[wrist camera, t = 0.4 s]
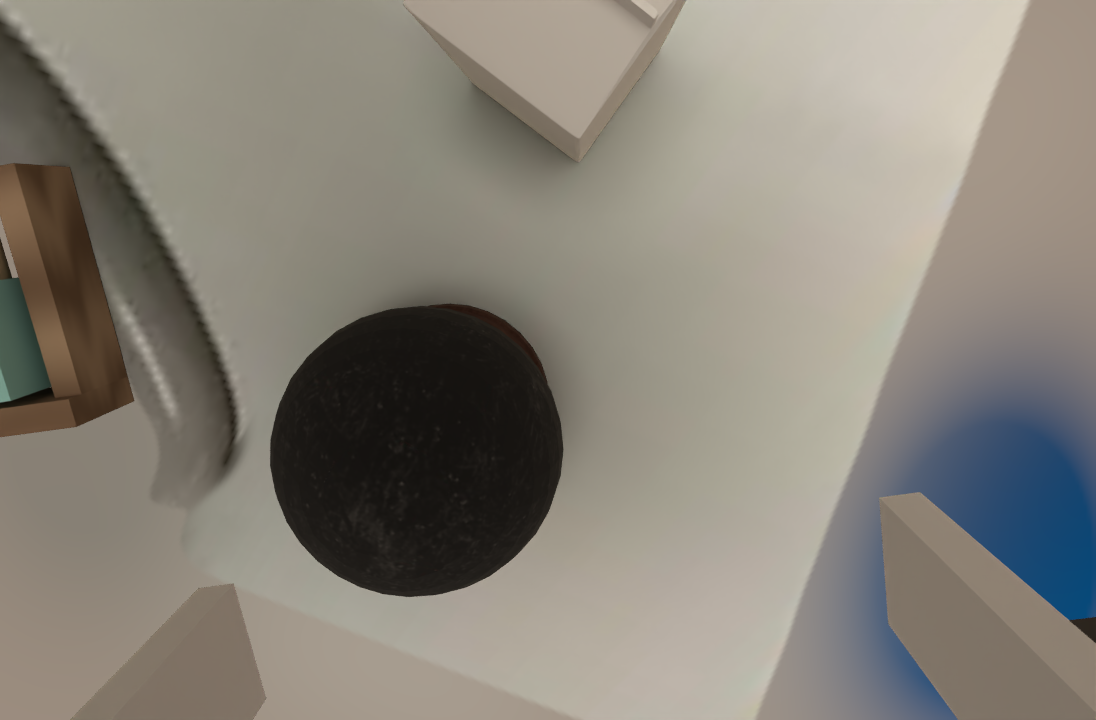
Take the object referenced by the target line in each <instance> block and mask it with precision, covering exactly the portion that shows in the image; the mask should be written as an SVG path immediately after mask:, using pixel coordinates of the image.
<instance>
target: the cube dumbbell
mask: <svg viewBox="0 0 1096 720" xmlns="http://www.w3.org/2000/svg"><path fill="white" fill-rule="evenodd" d="M49 387H52V386H51V383H50V380H49V376H48V373H47V370H46V366H45V363H44V360H43V356H42V353H41V350H40V346H39V343H38V340H37V336H36V333H35V330H34V326H33V323H32V320H31V316H30V313H29V310H28V306H27V303H26V300H25V296H24V293H23V290H22V286H21V283H20V280H19V278H12V276H11V272H10V269H9V266H8V262H7V259H6V256H5V253H4V250H3V246H2V243H1V239H0V402H6V401H12V400H15V399H17V398H20V397H23V396H26V395H29V394H32V393H35V392H37V391H40V390H43V389H46V388H49Z"/></svg>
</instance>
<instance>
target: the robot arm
mask: <svg viewBox="0 0 1096 720" xmlns="http://www.w3.org/2000/svg"><path fill="white" fill-rule="evenodd" d="M879 500H880V514H881V528H882V542H883V554H884V568H885V583H886V596H887V611H888V623H889V625H890V627H891V628H892V630H893V631H894V632H895V634H896V635H897V636H898V638H899V639H900V640H901V642H902V643H903V645H904V646H905V647H906V649H907V650H908V652H909V653H910V654H911V656H912V657H913V658H914V659H915V661H916V663H917V664H918V665H919V666H920V668H921V669H922V670H923V672H924V673H925V675H926V676H927V677H928V679H929V680H930V682H931V683H932V684H933V686H934V687H935V689H936V690H937V691H938V693H939V694H940V695H941V697H942V698H943V699H944V701H945V702H946V704H947V705H948V706H949V708H950V709H951V710H952V712H953V713H954V715H955V716H956V717H957V719H958V720H1096V617H1093V618H1085V619H1076V620H1068V619H1067V618H1065V617H1064V616H1063V615H1062V614H1061V613H1060V612H1059V611H1057V610H1056V609H1055V608H1054V607H1053V606H1051V605H1050V604H1049V603H1048V602H1047V601H1046V600H1044V599H1043V598H1042V597H1041V596H1040V595H1039V594H1038V593H1036V592H1035V591H1034V590H1033V589H1032V588H1031V587H1029V586H1028V585H1027V584H1026V583H1025V582H1023V581H1022V580H1021V579H1020V578H1019V577H1018V576H1017V575H1015V574H1014V573H1013V572H1012V571H1011V570H1010V569H1008V568H1007V567H1006V566H1005V565H1004V564H1003V563H1002V562H1000V561H999V560H998V559H997V558H996V557H995V556H993V555H992V554H991V553H990V552H989V551H988V550H986V549H985V548H984V547H983V546H982V545H981V544H979V543H978V542H977V541H976V540H975V539H974V538H972V537H971V536H970V535H969V534H968V533H967V532H965V531H964V530H963V529H962V528H961V527H960V526H958V525H957V524H956V523H955V522H954V521H953V520H951V519H950V518H949V517H948V516H947V515H946V514H944V513H943V512H942V511H941V510H940V509H939V508H937V507H936V506H935V505H934V504H933V503H932V502H931V501H929V500H928V499H927V498H926V497H925V496H924V495H922V494H921V493H920V492H918V493H911V494H903V495H896V496H888V497H881V498H879ZM265 700H266V696H265V693H264V689H263V686H262V683H261V679H260V675H259V672H258V668H257V664H256V661H255V657H254V654H253V650H252V647H251V643H250V640H249V636H248V633H247V629H246V626H245V622H244V618H243V615H242V612H241V608H240V604H239V601H238V597H237V594H236V590H235V587H234V584H227V585H219V586H212V587H204V588H198V589H197V590H196V591H195V592H194V593H193V594H192V595H191V597H190V598H189V599H188V600H187V601H186V602H185V603H184V604H183V605H182V606H181V607H180V608H179V609H178V610H177V611H176V612H175V613H174V614H173V615H172V616H171V617H170V618H169V619H168V620H167V621H166V622H165V623H164V624H163V625H162V626H161V627H160V628H159V629H158V630H157V631H156V632H155V633H154V634H153V635H152V636H151V638H150V639H149V640H148V641H147V642H146V643H145V644H144V645H143V646H142V647H141V648H140V649H139V650H138V651H137V652H136V653H135V654H134V655H133V656H132V657H131V658H130V659H129V660H128V661H127V662H126V663H125V664H124V665H123V666H122V667H121V668H120V669H119V670H118V671H117V672H116V673H115V674H114V675H113V676H112V677H111V678H110V679H109V680H108V682H107V683H106V684H105V685H104V686H103V687H102V688H101V689H100V690H99V691H98V692H97V693H96V694H95V695H94V696H93V697H92V698H91V699H90V700H89V701H88V702H87V703H86V704H85V705H84V706H83V707H82V708H81V709H80V710H79V711H78V712H77V713H76V714H75V715H74V716H73V717H72V718H71V720H253V719H254V717H255V716H256V714H257V712H258V711H259V709H260V708H261V706H262V704H263V703H264V701H265Z"/></svg>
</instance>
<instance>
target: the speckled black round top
mask: <svg viewBox="0 0 1096 720" xmlns="http://www.w3.org/2000/svg"><path fill="white" fill-rule="evenodd" d="M562 458H563V441H562V432H561V422H560V418H559V415H558V411H557V408H556V405H555V402H554V399H553V396H552V392H551V390H550V388H549V386H548V384H547V379H546V376H545V373H544V370H543V367H542V364H541V362H540V360H539V358H538V357H537V355H536V353H535V351H534V349H533V347H532V346H531V345H530V344H529V343H528V342H527V340H526V339H525V338H524V337H523V336H522V334H521V333H520V332H519V331H517V330H516V329H515V328H514V327H512V326H511V325H510V324H509V323H507V322H506V321H505V320H503V319H501V318H499V317H498V316H496V315H494V314H492V313H490V312H488V311H485V310H482V309H478V308H475V307H472V306H468V305H458V304H441V305H430V306H427V307H426V306H418V307H407V308H397V309H390V310H386V311H382V312H379V313H376V314H373V315H369V316H366V317H363V318H360V319H358V320H356V321H354V322H353V323H351V324H349V325H347V326H345V327H344V328H342V329H340V330H338V331H336V332H335V333H334V334H333V335H332V336H330V337H329V338H328V339H327V340H326V341H325V342H323V343H322V344H321V345H320V346H319V347H318V348H317V349H315V350H314V351H313V352H312V353H311V354H310V355H309V356H308V357H307V358H306V360H305V361H304V362H303V364H302V365H301V366H300V367H299V369H298V370H297V371H296V373H295V374H294V375H293V377H292V378H291V380H290V382H289V384H288V386H287V389H286V391H285V393H284V395H283V397H282V399H281V401H280V404H279V407H278V410H277V414H276V418H275V422H274V427H273V431H272V436H271V447H270V467H271V472H272V477H273V483H274V488H275V492H276V495H277V499H278V501H279V504H280V506H281V509H282V511H283V514H284V516H285V519H286V521H287V523H288V525H289V526H290V528H291V529H292V531H293V532H294V534H295V535H296V537H297V539H298V540H299V542H300V543H301V544H302V545H303V546H304V547H305V548H306V549H307V551H308V552H309V553H310V554H311V555H312V556H313V557H314V558H315V559H316V560H317V561H318V562H319V563H321V564H322V565H323V566H325V567H326V568H328V569H329V570H330V571H332V572H333V573H334V574H336V575H337V576H339V577H341V578H343V579H345V580H347V581H349V582H351V583H353V584H355V585H357V586H359V587H361V588H365V589H368V590H372V591H375V592H378V593H382V594H387V595H396V596H405V597H414V596H428V595H437V594H442V593H446V592H450V591H454V590H458V589H461V588H465V587H468V586H470V585H472V584H474V583H476V582H478V581H481V580H483V579H485V578H487V577H489V576H491V575H492V574H493V573H495V572H496V571H497V570H499V569H500V568H501V567H503V566H504V565H505V564H507V563H508V562H509V561H511V560H512V559H513V558H514V557H515V556H516V555H517V554H518V553H519V552H520V551H521V550H522V549H523V548H524V546H525V545H526V544H527V543H528V542H529V541H530V540H531V539H532V538H533V536H534V535H535V534H536V533H537V531H538V529H539V527H540V526H541V524H542V522H543V520H544V519H545V517H546V515H547V514H548V512H549V509H550V506H551V504H552V501H553V498H554V495H555V491H556V488H557V485H558V482H559V479H560V476H561V467H562Z"/></svg>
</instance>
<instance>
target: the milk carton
mask: <svg viewBox="0 0 1096 720" xmlns="http://www.w3.org/2000/svg"><path fill="white" fill-rule="evenodd" d="M685 1H686V0H404V3H403V5H404V6H405V7H406V8H407V9H408V11H409V12H410V13H411V14H412V15H413V16H414V17H415V18H416V20H417V21H418V22H419V23H420V24H421V25H422V26H423V27H424V29H425V30H426V31H427V32H428V33H429V34H430V35H431V36H432V38H433V39H434V40H435V41H436V42H437V43H438V44H439V45H440V47H441V48H442V49H443V50H444V51H445V52H446V53H447V54H448V56H449V57H450V58H451V59H452V60H453V61H454V62H455V64H456V65H457V66H458V67H459V68H460V69H461V70H462V71H463V73H464V74H465V75H466V76H467V77H468V78H469V79H470V80H471V82H472V83H473V84H475V85H476V86H477V87H478V88H480V89H481V90H482V91H483V92H485V93H486V94H487V95H489V96H490V97H491V98H493V99H494V100H495V101H497V102H498V103H499V104H501V105H502V106H503V107H505V108H506V109H507V110H509V111H510V112H511V113H512V114H514V115H515V116H516V117H518V118H519V119H520V120H522V121H523V122H524V123H526V124H527V125H528V126H530V127H531V128H532V129H534V130H535V131H536V132H538V133H539V134H540V135H541V136H543V137H544V138H545V139H547V140H548V141H549V142H551V143H552V144H553V145H555V146H556V147H557V148H559V149H560V150H561V151H563V152H564V153H565V154H567V155H568V156H569V157H571V158H572V159H573V160H575V161H577V162H580V161H581V159H582V158H583V157H584V155H585V154H586V152H587V151H588V150H589V148H590V147H591V145H592V144H593V143H594V141H595V140H596V138H597V137H598V136H599V134H600V133H601V131H602V130H603V129H604V127H605V126H606V124H607V123H608V122H609V120H610V119H611V117H612V116H613V115H614V113H615V112H616V110H617V109H618V108H619V106H620V105H621V103H622V102H623V101H624V99H625V98H626V96H627V95H628V94H629V92H630V91H631V89H632V88H633V87H634V85H635V84H636V82H637V81H638V80H639V78H640V77H641V75H642V74H643V73H644V71H645V70H646V68H647V67H648V66H649V64H650V63H651V61H652V60H653V59H654V57H655V56H656V54H657V53H658V52H659V50H660V49H661V47H662V45H663V43H664V41H665V39H666V37H667V35H668V33H669V32H670V30H671V28H672V26H673V24H674V22H675V20H676V18H677V16H678V15H679V13H680V11H681V9H682V7H683V5H684V3H685Z"/></svg>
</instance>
